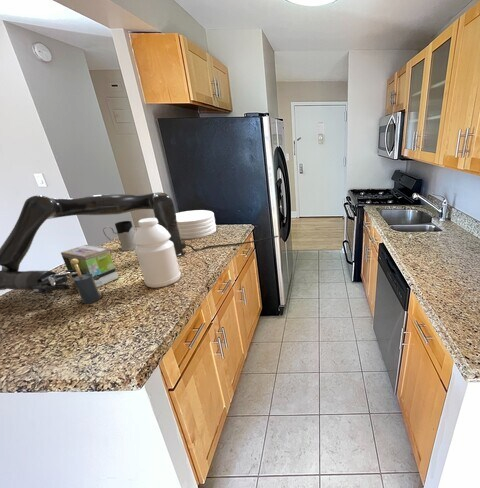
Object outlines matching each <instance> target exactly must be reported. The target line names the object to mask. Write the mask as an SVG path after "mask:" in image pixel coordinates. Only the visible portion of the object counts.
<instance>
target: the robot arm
mask: <svg viewBox="0 0 480 488" xmlns="http://www.w3.org/2000/svg"><path fill="white" fill-rule="evenodd" d="M139 210H153V214H154V218H157V220H158V223H157V224H159V225H161V226H163V227H164V228H165V229H166V230H167V231H168V232H169V233H170V235H171V237H170V238H169V240H170V241H172V242H173V244H174V248H175V253H176V257H180V256H182V255H183V256H184V254H185V249H186V248H187V247H189V248H190V249H192V251H195V252H197V251H202V250H206V249H208V248H216V247H227V246H237V245H245V244H251V243H252V244H253V243H258V242H261V241H267V240H271V239H276V238H279V235H274V236H271V237H270V236H269V237H266V238H260V239H256V240H250V241H243V242H235V243H226V244H214V245H213V244H212V245H207V246H204V247H202V248H198V249H196V248H194V246H193V245H190V244H187V243H186V241H185V240H183V239H181V236H180V233H179V229H178V224H177V219H176V213H177V212H176V208H175V203H174V201H173V199H172V198H171V196H170V195H168V194H167V193H165V192H162V191H161V192H153V193H144V194H143V193H142V194H126V193H125V194H123V193H122V194H120V193H119V194H115V193H114V194H112V193H110V194H107V193H106V194H94V195H87V196H82V197H76V198H54V197H52V198H51V197H48V196H45V195H39V194H38V195H32V196H30V197H27V199H26V200H25V201H24V202H23V206H22V208H21V211H20V213H19V216H18V218H17V221H16V223H15V224H14V225H13V228H12V230H11V232H10V233H9V235H8V236H7V237H6V239H5V240H4V242H3V243H2V245H1V246H0V266H1V269H0V291H5V290H13V291H14V290H15V291H19V290H20V291H33V292H34V294H45V295H46V294H47V295H48V294H52V293H53V292H57V291H68V290H70V288H71V287H70V285H69V284H68V283H69V282H73V279H74V278H75V277H73V276H76V277H77V276H78V274H77V271H76V269H70V270H68V269H66V270H65V272H63V273H60V272H59V273H56V272H55V271H52V270H23V271H22V270H19V269H20V265H21V263H22V261H23V260H24V259H25V257H26V256H27V254H28V252H29V250H30V249H31V247H32V244H33V241H34V239H35V237H36V234H37V233H38V231H39V229H40V228H41V226H42V225H43V224H44V223H45V222H46V221H47V220H52V219H57V218H63V217H64V218H65V217H70V216H112V215H121V214H126V213H131V212H134V211H139ZM80 272H81V274H82V275H83V274H89V273H83V271H82V269H80ZM68 277H69V278H68Z"/></svg>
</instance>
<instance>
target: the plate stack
mask: <svg viewBox="0 0 480 488" xmlns="http://www.w3.org/2000/svg"><path fill="white" fill-rule="evenodd" d="M176 219H177V224H178V229H179V233H180V236H181V240H191V239H199V238H203V237H207V236H210V235H212V234H214V233H215V232H216V231H217V224H216V218H215V213H214V212H213V211H212V210H205V209H195V210H186V211H180V212H176Z"/></svg>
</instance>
